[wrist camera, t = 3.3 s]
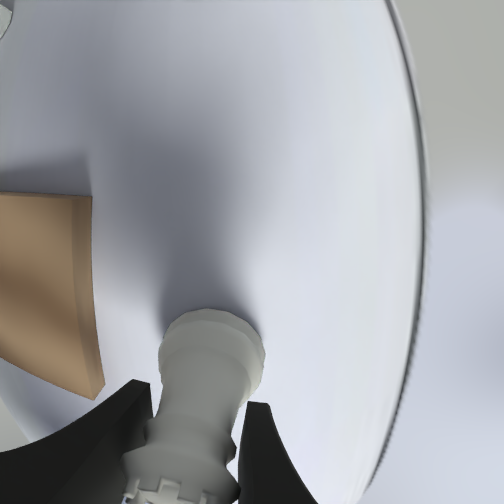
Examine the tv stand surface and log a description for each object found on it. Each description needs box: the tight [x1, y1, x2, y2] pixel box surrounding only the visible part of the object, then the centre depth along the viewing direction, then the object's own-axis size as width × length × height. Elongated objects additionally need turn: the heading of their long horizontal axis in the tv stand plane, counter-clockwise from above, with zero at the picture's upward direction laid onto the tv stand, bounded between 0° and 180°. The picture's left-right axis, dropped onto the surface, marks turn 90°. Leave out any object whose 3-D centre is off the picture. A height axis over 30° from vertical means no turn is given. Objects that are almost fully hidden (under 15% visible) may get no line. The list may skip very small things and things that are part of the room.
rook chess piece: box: [119, 308, 265, 504], centre depth 8 cm, size 4×4×8 cm
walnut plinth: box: [0, 191, 105, 400], centre depth 11 cm, size 10×10×2 cm
